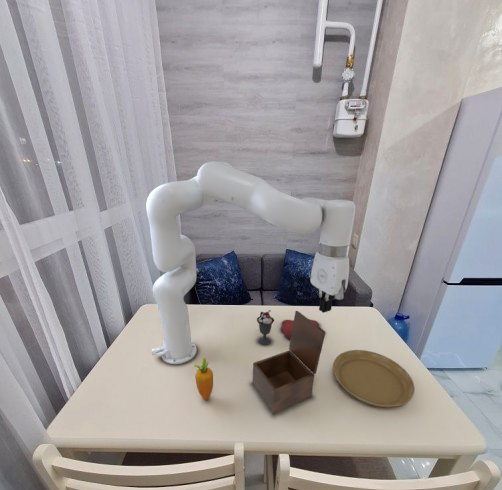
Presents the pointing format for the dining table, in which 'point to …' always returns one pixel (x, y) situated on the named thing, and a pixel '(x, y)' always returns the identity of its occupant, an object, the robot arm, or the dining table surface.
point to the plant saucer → (373, 378)
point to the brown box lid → (306, 341)
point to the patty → (288, 326)
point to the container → (282, 381)
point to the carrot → (204, 380)
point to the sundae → (265, 327)
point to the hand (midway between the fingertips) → (324, 310)
